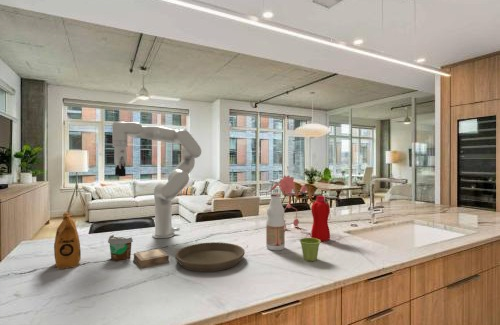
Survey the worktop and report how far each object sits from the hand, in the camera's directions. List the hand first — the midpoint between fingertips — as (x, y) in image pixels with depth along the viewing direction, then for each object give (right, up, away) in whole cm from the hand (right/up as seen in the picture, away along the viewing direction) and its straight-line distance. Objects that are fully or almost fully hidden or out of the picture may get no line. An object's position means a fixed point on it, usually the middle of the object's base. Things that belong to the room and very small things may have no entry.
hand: (120, 175), depth 159 cm
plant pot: (+99, -37, -26) cm, 109 cm away
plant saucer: (+53, -38, -28) cm, 71 cm away
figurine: (+96, -37, +36) cm, 109 cm away
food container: (+10, -37, -26) cm, 47 cm away
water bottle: (+112, -37, +5) cm, 118 cm away
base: (+27, -37, -28) cm, 54 cm away
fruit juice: (+84, -37, -9) cm, 93 cm away
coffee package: (-9, -37, -33) cm, 50 cm away
